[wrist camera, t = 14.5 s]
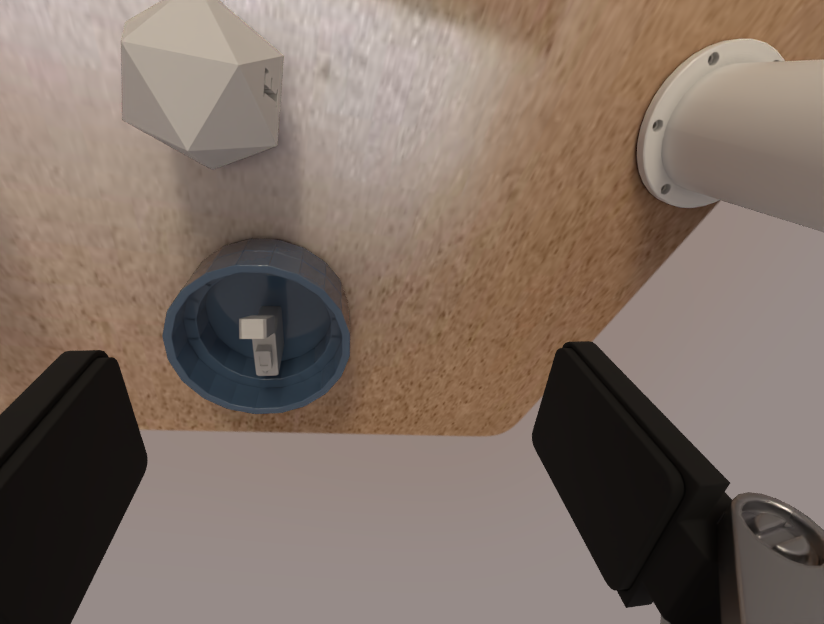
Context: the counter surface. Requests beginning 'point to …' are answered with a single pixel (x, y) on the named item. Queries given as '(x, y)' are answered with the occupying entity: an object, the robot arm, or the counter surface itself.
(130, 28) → the grey polyhedron
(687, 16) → the counter surface
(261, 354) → the lighter
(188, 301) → the bowl
